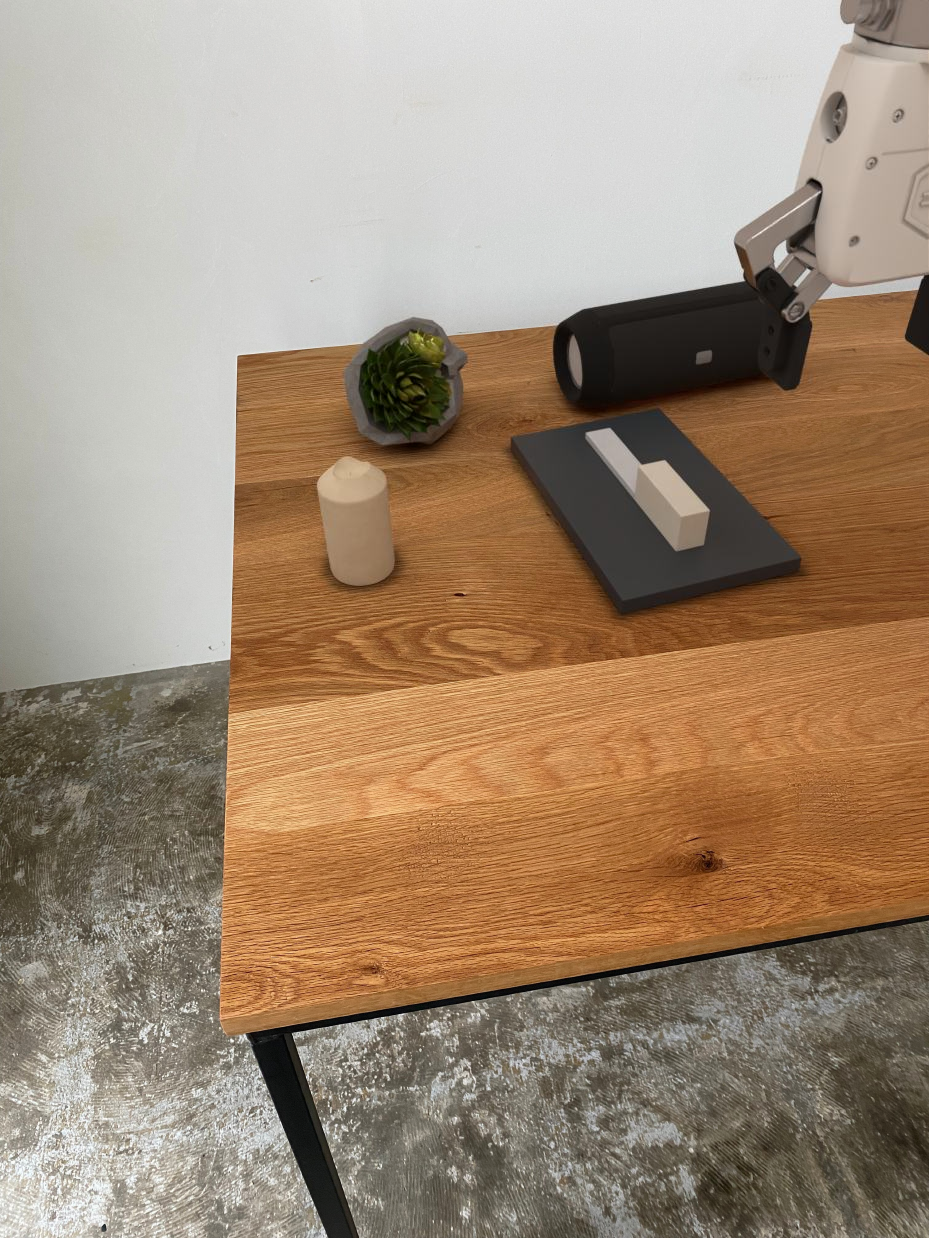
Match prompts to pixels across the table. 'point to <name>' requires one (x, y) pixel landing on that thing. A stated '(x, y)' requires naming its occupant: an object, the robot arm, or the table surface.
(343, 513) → the candle
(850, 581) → the table surface
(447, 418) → the potted plant
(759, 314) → the portable speaker
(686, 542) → the white stepped bar
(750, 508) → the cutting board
